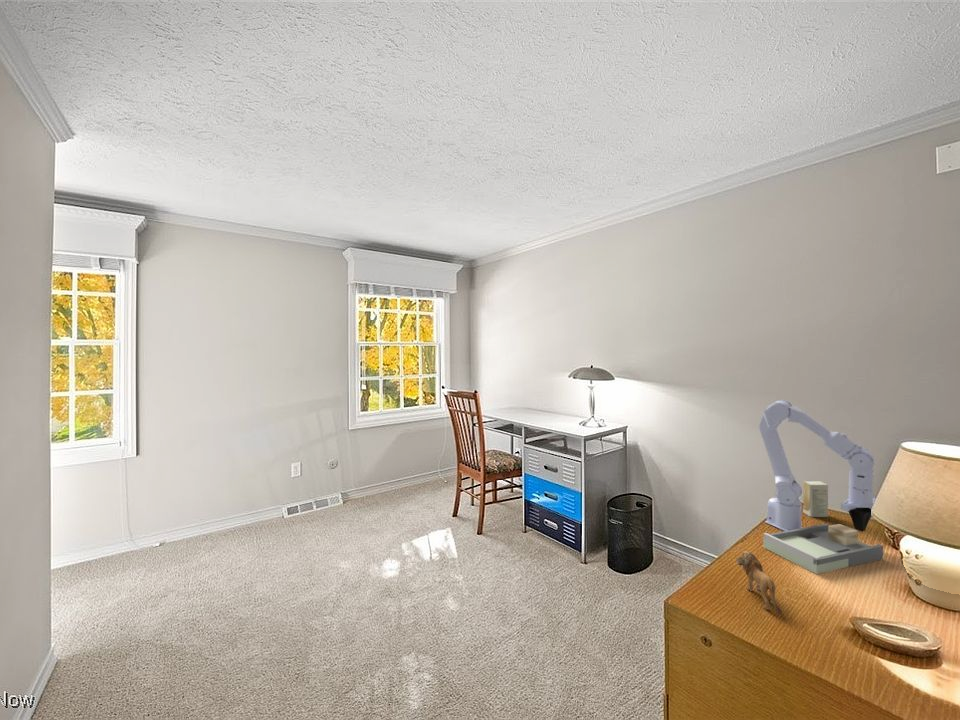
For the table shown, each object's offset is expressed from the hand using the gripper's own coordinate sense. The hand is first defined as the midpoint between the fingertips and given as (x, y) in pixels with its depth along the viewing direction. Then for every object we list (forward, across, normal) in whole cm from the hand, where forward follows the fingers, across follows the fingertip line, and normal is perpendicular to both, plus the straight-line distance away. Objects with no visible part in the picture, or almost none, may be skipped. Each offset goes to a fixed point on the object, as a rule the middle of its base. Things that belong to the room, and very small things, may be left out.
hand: (859, 530), depth 133 cm
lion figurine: (+5, -55, -11) cm, 56 cm away
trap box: (+5, -17, 0) cm, 17 cm away
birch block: (+2, -8, 0) cm, 8 cm away
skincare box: (+5, +11, +21) cm, 24 cm away
